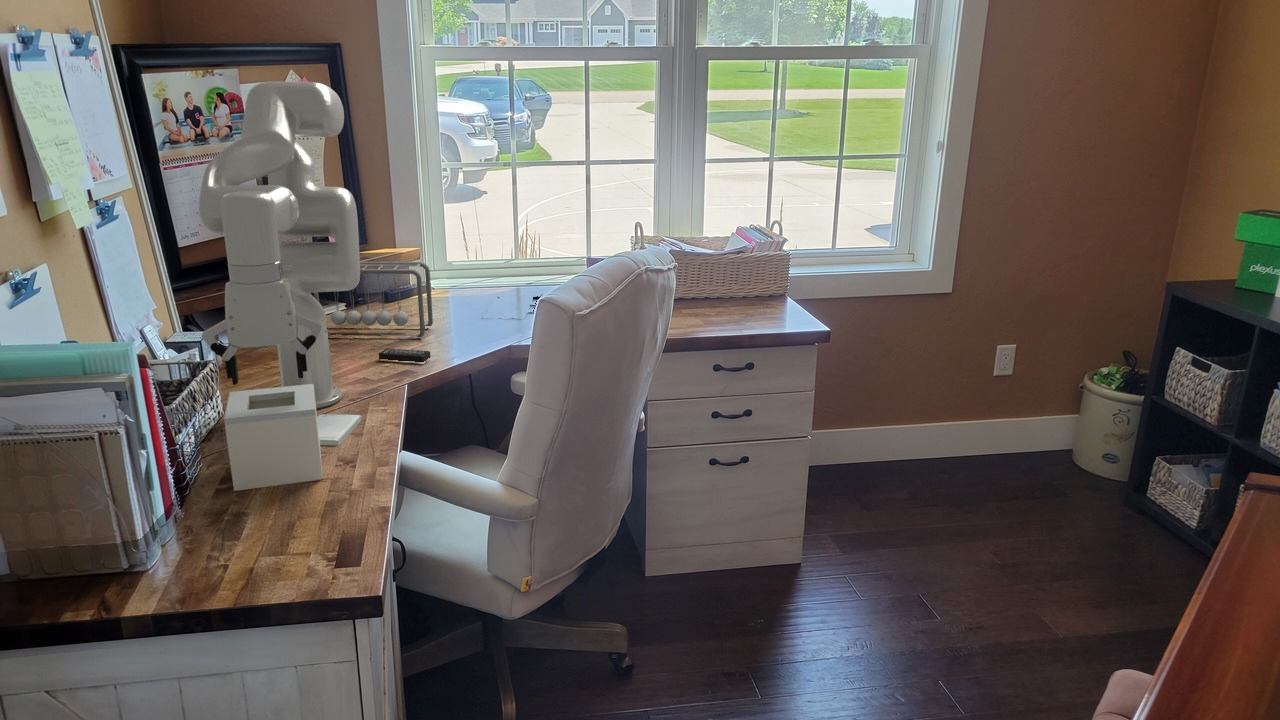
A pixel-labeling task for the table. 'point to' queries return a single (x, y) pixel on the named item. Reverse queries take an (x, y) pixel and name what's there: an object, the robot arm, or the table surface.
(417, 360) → the multiport hub
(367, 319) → the newton's cradle
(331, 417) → the hard drive
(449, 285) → the table surface
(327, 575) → the table surface
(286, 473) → the drop box
